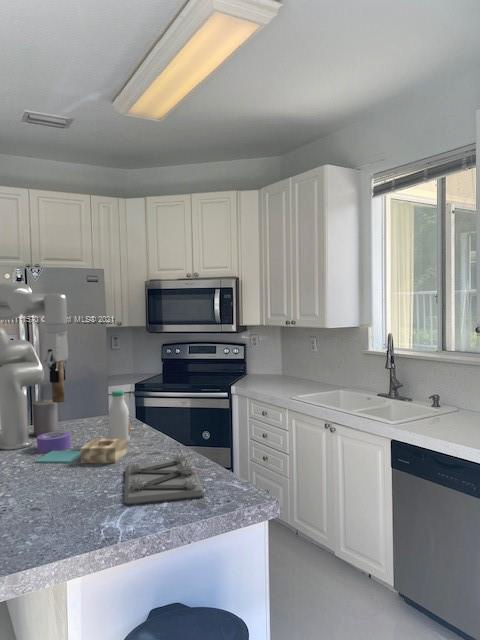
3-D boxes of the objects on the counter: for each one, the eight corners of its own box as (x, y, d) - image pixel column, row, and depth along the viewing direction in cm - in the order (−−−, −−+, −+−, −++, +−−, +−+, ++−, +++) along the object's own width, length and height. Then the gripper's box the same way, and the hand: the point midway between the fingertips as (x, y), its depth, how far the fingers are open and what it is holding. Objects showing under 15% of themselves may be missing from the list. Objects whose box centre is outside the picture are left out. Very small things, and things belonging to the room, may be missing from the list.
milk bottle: (127, 445, 189) (125, 392, 188) (106, 445, 189) (105, 393, 189) (132, 439, 197) (130, 389, 196) (112, 440, 197) (110, 389, 196)
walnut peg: (50, 402, 173) (48, 362, 173) (55, 400, 177) (54, 361, 177) (61, 402, 173) (60, 362, 172) (66, 400, 177) (65, 360, 176)
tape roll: (30, 452, 183) (30, 438, 183) (48, 443, 195) (48, 430, 195) (60, 453, 181) (59, 439, 181) (76, 444, 193) (76, 431, 193)
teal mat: (35, 462, 170) (35, 461, 170) (51, 452, 182) (51, 450, 182) (69, 462, 169) (69, 461, 169) (83, 452, 181) (83, 450, 181)
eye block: (81, 462, 169) (80, 448, 168) (94, 452, 180) (94, 438, 180) (115, 463, 167) (115, 448, 167) (126, 452, 179) (126, 438, 179)
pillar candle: (35, 432, 212) (33, 397, 212) (59, 430, 215) (57, 395, 215) (32, 438, 203) (31, 401, 203) (58, 435, 206) (56, 399, 205)
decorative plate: (125, 471, 160) (125, 449, 160) (192, 465, 165) (191, 444, 164) (124, 508, 131) (123, 481, 131) (205, 499, 135) (205, 473, 135)
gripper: (56, 328, 183) (58, 377, 183) (33, 330, 166) (35, 385, 167) (76, 327, 182) (78, 377, 183) (55, 330, 165) (57, 385, 166)
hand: (57, 380), depth 175 cm, fingers closed on walnut peg, 4 cm apart
